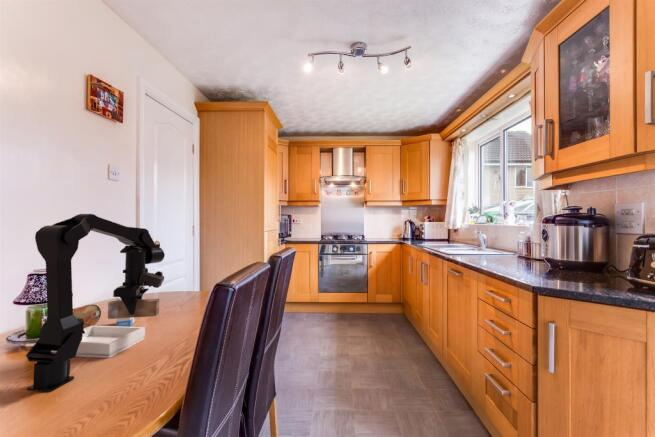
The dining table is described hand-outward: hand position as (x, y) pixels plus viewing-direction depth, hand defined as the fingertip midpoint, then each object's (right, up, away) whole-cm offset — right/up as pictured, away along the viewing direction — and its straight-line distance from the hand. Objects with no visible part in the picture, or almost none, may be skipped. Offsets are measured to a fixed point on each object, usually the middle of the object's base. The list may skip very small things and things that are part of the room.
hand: (134, 312), depth 102 cm
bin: (-11, -11, -1) cm, 15 cm away
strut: (0, -1, 0) cm, 1 cm away
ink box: (-17, -12, +22) cm, 30 cm away
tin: (-32, -12, +17) cm, 37 cm away
